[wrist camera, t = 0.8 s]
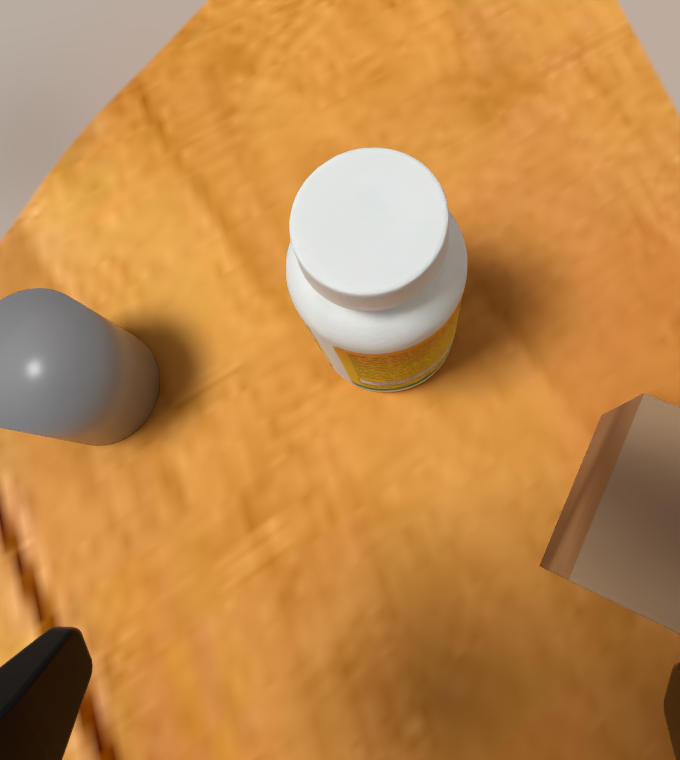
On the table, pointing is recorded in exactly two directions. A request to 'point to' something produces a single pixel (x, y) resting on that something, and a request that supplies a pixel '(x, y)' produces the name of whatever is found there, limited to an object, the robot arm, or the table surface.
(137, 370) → the gray capsule
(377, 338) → the supplement bottle
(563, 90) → the table surface
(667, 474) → the walnut block
